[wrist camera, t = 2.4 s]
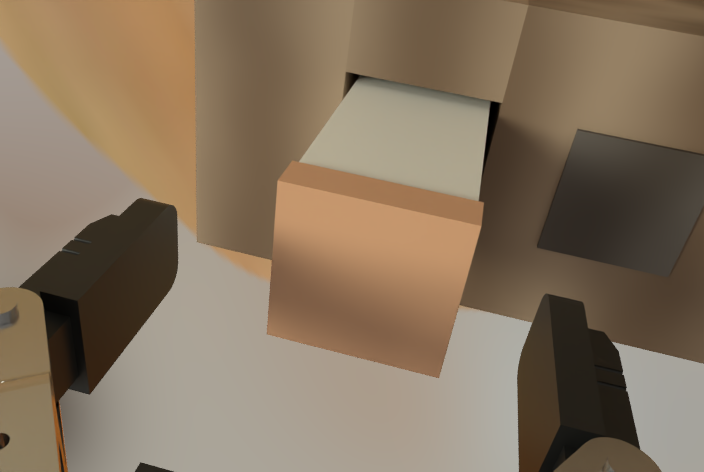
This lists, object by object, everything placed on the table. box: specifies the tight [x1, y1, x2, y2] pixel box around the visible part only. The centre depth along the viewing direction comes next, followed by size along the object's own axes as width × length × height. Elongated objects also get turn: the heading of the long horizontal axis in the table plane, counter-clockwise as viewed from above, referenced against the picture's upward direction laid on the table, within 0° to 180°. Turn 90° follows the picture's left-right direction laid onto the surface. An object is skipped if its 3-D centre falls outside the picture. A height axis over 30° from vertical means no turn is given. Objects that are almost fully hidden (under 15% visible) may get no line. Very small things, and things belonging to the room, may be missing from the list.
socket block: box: [195, 0, 704, 363], centre depth 21 cm, size 22×10×6 cm, turn 82°
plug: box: [267, 75, 490, 378], centre depth 19 cm, size 4×4×12 cm
